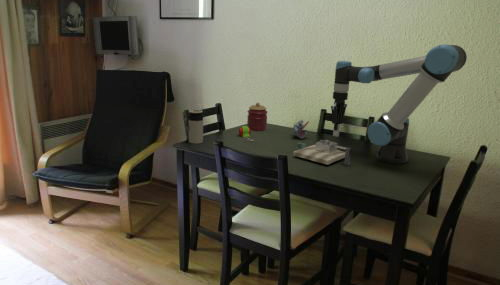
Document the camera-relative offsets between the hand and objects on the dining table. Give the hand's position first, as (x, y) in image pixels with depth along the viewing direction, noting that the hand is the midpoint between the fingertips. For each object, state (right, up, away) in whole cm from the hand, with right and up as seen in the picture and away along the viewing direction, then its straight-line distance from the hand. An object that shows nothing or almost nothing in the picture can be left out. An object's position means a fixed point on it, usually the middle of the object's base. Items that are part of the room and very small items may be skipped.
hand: (335, 135), depth 208 cm
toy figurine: (-16, -1, +30) cm, 34 cm away
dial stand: (-1, -14, -16) cm, 21 cm away
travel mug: (-76, -4, +12) cm, 77 cm away
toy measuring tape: (-48, -1, +26) cm, 54 cm away
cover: (-6, -8, -6) cm, 11 cm away
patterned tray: (-11, -10, -7) cm, 17 cm away
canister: (-41, +5, +49) cm, 64 cm away
